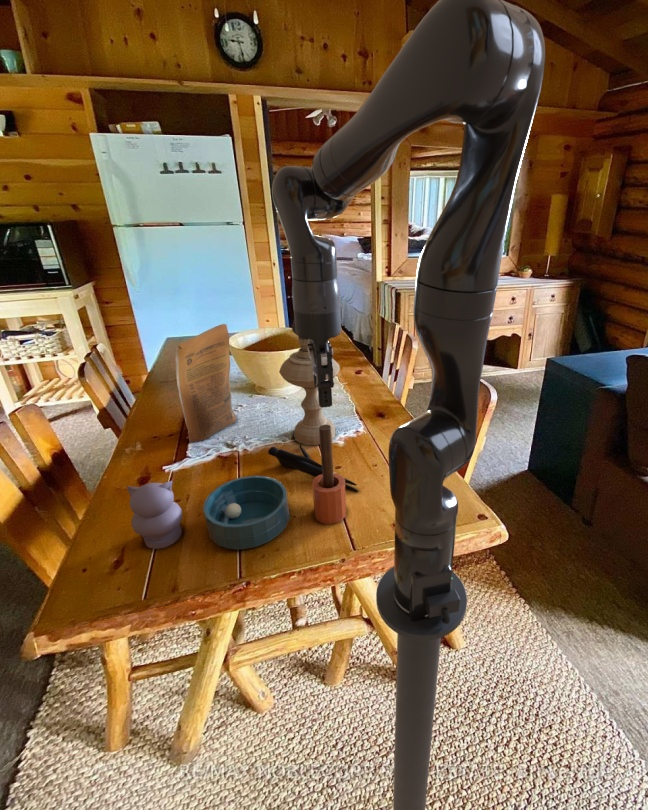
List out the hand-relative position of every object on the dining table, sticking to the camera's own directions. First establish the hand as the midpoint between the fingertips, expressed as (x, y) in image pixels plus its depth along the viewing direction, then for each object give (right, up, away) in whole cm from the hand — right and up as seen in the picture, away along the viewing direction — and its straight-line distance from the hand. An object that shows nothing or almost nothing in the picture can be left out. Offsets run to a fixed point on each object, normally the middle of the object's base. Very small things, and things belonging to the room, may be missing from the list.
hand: (322, 395), depth 79 cm
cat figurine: (-32, -27, +6) cm, 42 cm away
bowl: (-16, -25, +9) cm, 31 cm away
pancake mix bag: (-36, -9, +42) cm, 56 cm away
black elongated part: (-5, -17, +26) cm, 32 cm away
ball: (-19, -23, +9) cm, 32 cm away
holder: (0, -24, +12) cm, 27 cm away
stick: (0, -24, +12) cm, 26 cm away
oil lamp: (-9, -10, +41) cm, 43 cm away
